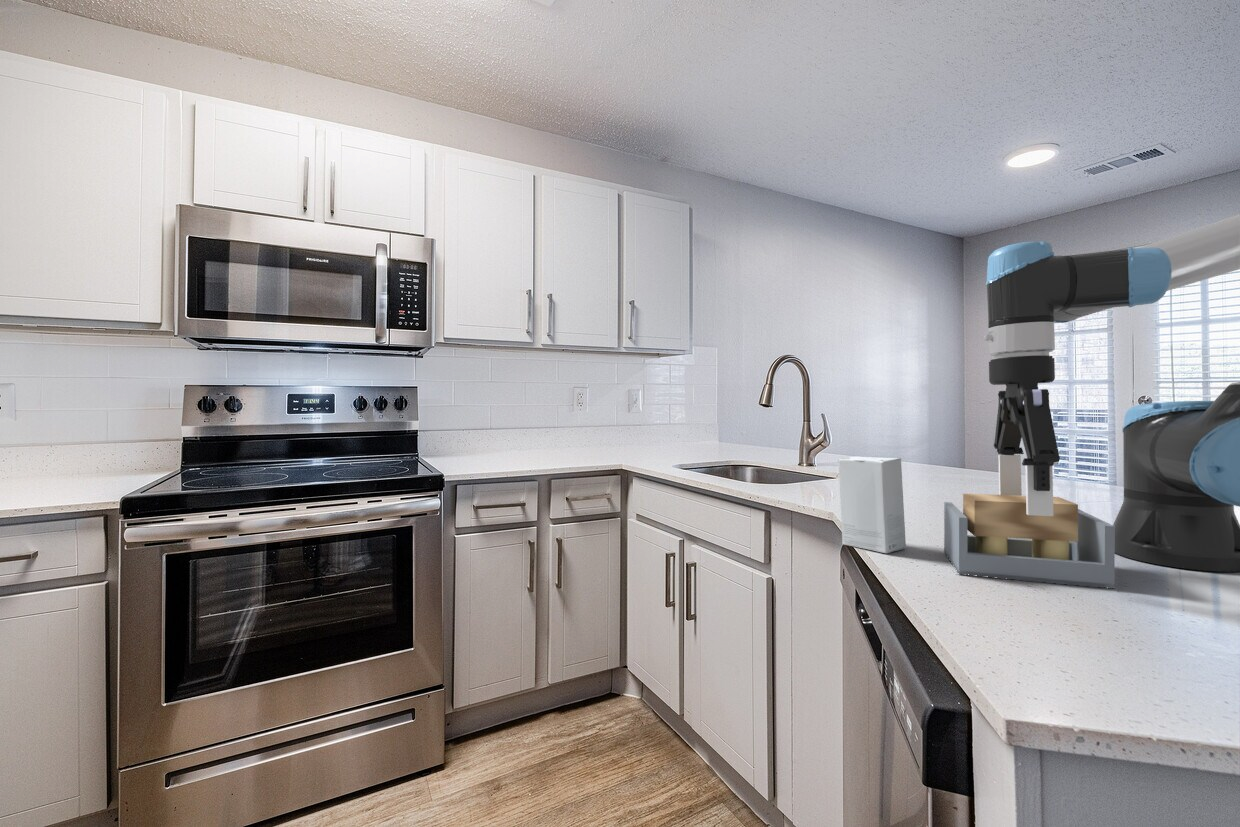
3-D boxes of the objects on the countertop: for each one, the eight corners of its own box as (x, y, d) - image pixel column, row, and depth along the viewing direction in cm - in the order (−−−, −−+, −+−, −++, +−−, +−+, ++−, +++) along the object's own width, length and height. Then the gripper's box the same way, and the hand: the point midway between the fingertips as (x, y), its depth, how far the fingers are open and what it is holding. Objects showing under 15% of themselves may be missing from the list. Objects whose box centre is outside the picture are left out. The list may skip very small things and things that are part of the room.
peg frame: (1077, 562, 81) (1077, 508, 80) (1114, 589, 70) (1114, 526, 69) (944, 552, 87) (944, 502, 87) (959, 574, 76) (959, 517, 76)
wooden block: (1058, 531, 79) (1058, 496, 79) (1077, 541, 74) (1078, 504, 73) (963, 526, 83) (963, 493, 83) (974, 535, 77) (974, 500, 77)
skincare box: (906, 549, 89) (906, 458, 89) (885, 555, 86) (884, 460, 86) (859, 538, 96) (858, 454, 96) (838, 544, 93) (837, 456, 93)
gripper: (970, 362, 91) (973, 490, 91) (1014, 351, 67) (1018, 522, 68) (1025, 359, 88) (1028, 492, 88) (1090, 346, 65) (1094, 526, 65)
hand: (1023, 505), depth 78 cm, fingers open, 13 cm apart
